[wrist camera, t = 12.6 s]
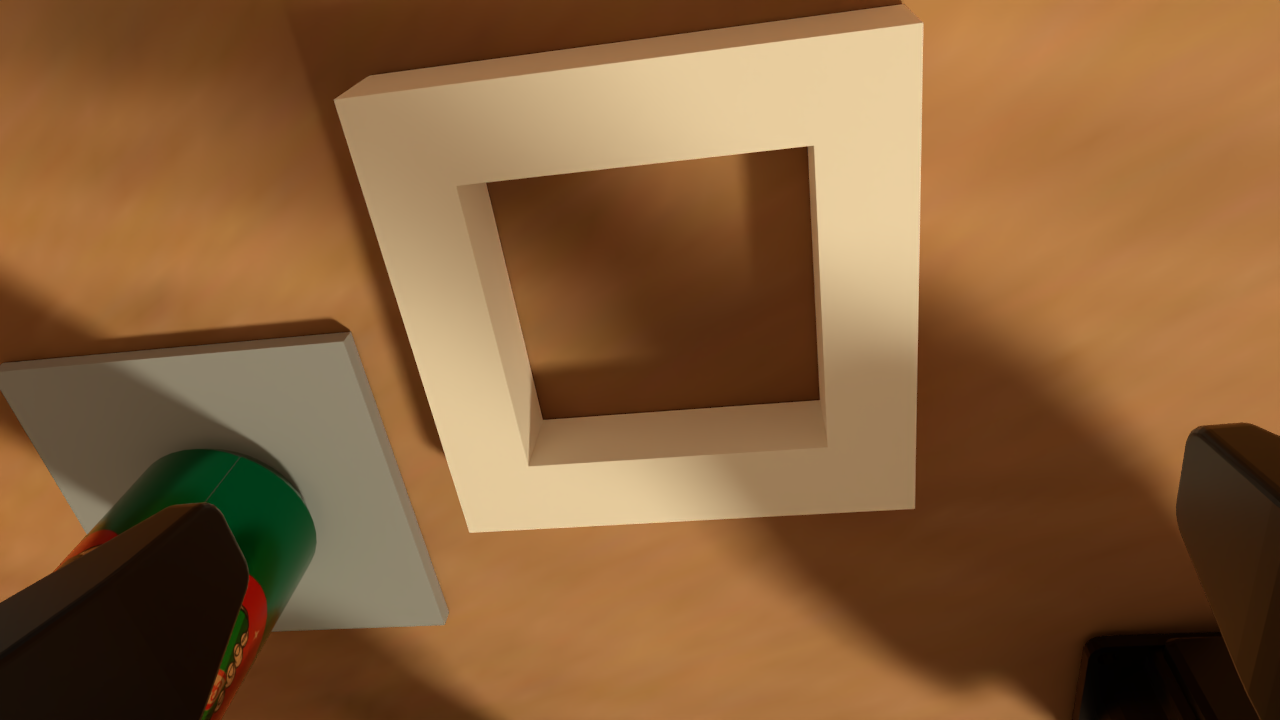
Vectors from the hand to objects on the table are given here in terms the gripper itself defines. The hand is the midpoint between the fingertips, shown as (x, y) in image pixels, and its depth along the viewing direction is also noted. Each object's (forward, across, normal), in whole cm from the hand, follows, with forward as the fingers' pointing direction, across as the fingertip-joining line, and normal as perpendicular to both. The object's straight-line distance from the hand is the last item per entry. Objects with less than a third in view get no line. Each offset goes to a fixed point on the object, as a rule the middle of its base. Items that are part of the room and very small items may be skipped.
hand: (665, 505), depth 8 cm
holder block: (+13, +2, +4) cm, 13 cm away
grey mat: (+13, +15, +9) cm, 21 cm away
